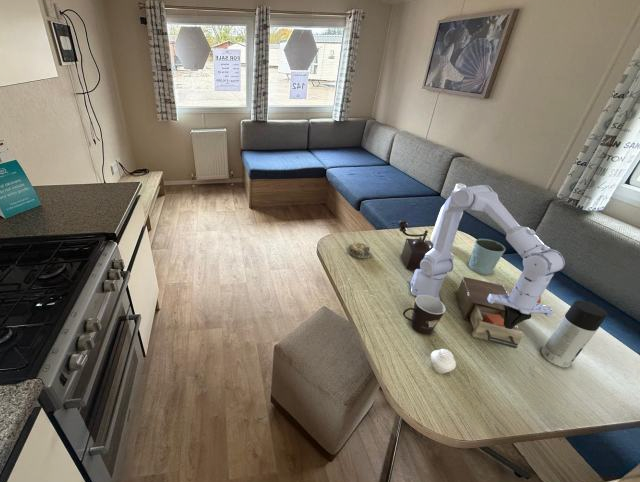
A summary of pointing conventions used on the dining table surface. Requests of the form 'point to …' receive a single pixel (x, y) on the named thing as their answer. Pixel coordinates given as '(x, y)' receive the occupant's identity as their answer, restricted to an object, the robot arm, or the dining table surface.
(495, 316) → the block
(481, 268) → the green plant pot
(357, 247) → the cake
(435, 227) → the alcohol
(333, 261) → the dining table surface
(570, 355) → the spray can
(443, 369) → the white garlic bulb
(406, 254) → the manual coffee grinder
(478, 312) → the drawer
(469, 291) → the cabinet
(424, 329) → the coffee mug
